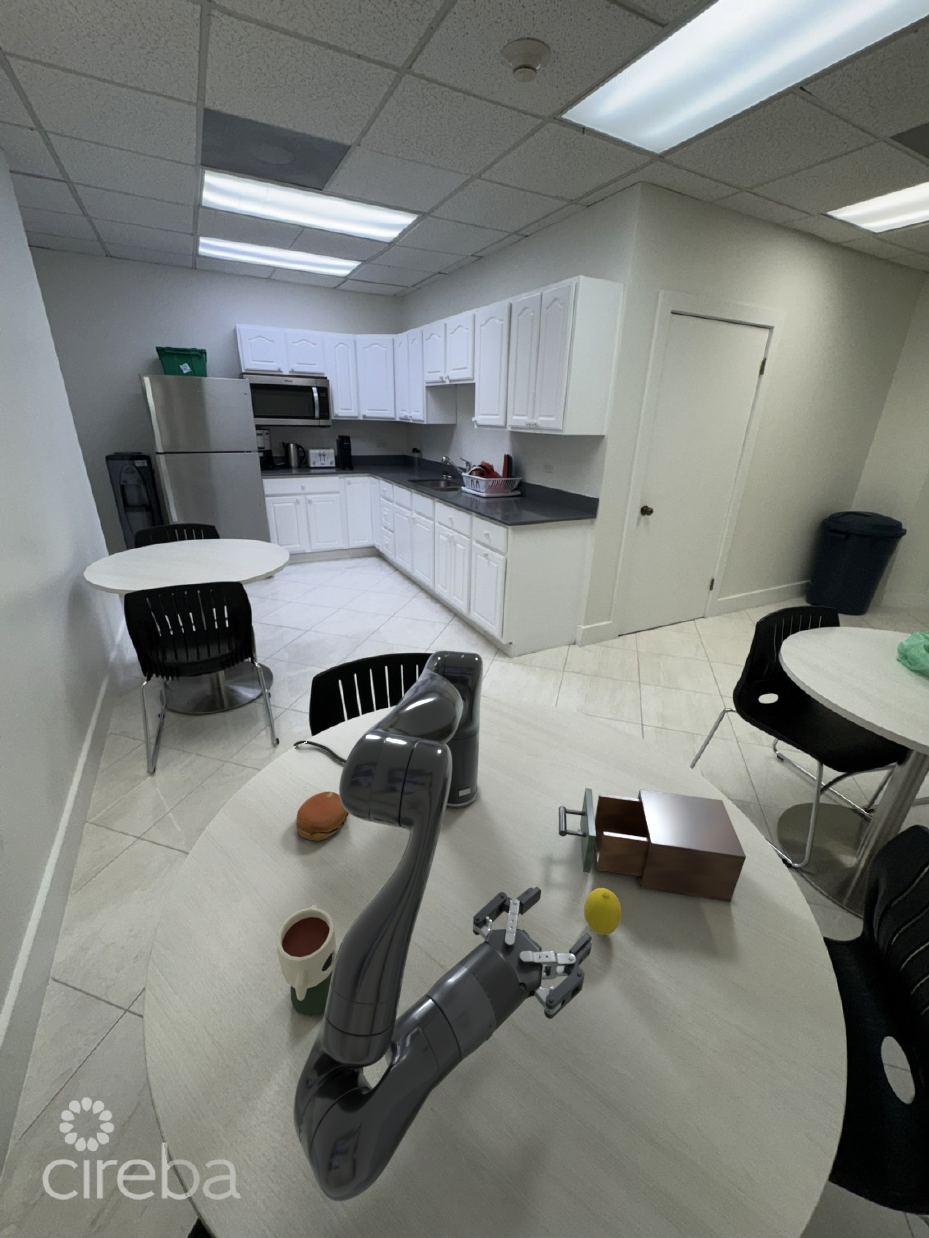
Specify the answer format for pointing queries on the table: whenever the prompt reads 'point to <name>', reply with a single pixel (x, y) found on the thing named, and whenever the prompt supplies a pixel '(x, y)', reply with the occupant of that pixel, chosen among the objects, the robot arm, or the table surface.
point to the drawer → (610, 833)
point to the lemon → (602, 911)
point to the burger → (321, 816)
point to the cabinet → (690, 846)
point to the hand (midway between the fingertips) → (562, 914)
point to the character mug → (307, 958)
